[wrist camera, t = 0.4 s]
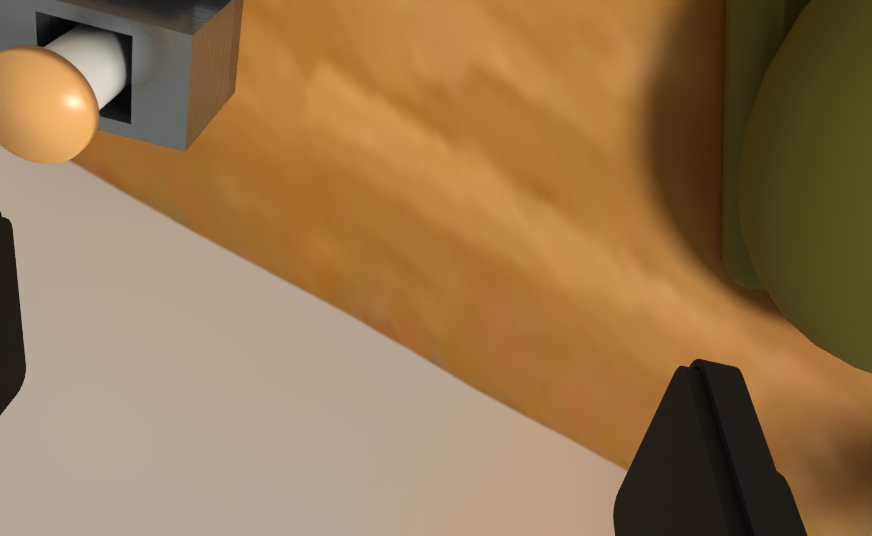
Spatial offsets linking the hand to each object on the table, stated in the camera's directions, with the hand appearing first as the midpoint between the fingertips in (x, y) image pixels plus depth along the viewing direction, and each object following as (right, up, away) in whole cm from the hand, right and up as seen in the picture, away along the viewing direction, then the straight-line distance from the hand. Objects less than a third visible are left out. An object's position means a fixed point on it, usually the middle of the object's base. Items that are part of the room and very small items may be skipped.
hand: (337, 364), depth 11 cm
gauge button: (-15, +12, +30) cm, 35 cm away
